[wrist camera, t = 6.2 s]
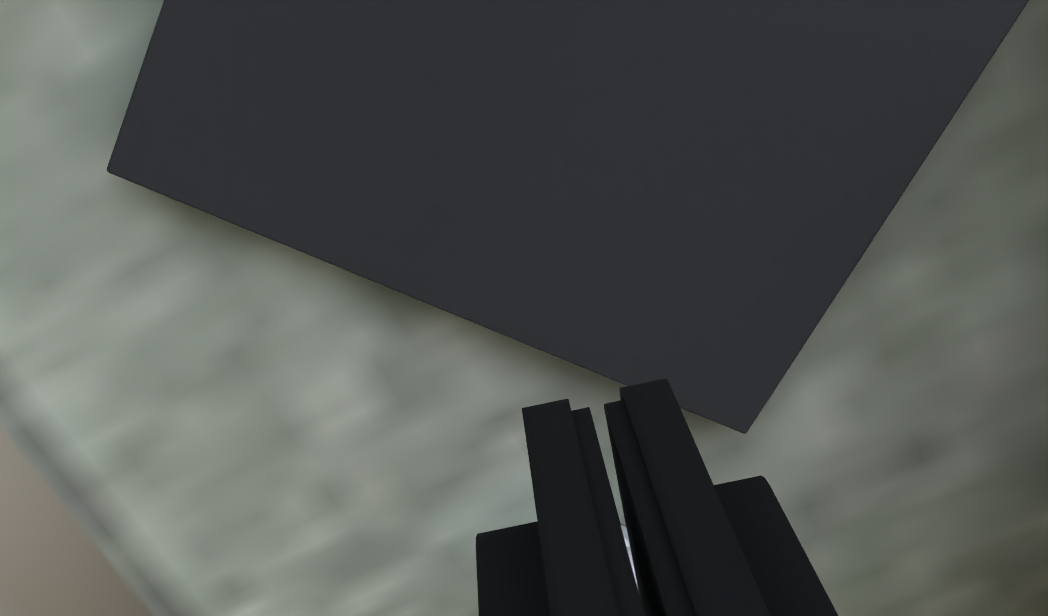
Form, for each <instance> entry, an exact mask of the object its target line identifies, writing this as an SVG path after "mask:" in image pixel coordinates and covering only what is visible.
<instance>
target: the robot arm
mask: <svg viewBox="0 0 1048 616" xmlns="http://www.w3.org/2000/svg"><path fill="white" fill-rule="evenodd" d="M620 398H621V401H616V402H612V403H607V404H604V409H605V415H606V420H607V426H608V431H609V436H610V442H611V447H612V453H613V458H614V463H615V469H616V474H617V479H618V485H619V490H620V495H621V501H622V506H623V512H624V517H625V522H626V528H627V533H628V538H629V544H630V549H631V554H632V560H633V565H634V570H635V576H636V581H637V585H636V581H635V577H634V573H633V570H632V566H631V562H630V558H629V555H628V551H627V547H626V543H625V539H624V536H623V532H622V528H621V524H620V521H619V517H618V513H617V509H616V506H615V502H614V498H613V494H612V491H611V487H610V483H609V479H608V476H607V472H606V468H605V464H604V460H603V457H602V453H601V449H600V445H599V442H598V438H597V434H596V430H595V427H594V423H593V419H592V415H591V412H590V408H589V407H587V408H583V409H578V410H573V411H571V408H570V404H569V400H568V399H564V400H559V401H554V402H550V403H545V404H540V405H535V406H530V407H525V408H522V412H523V420H524V427H525V434H526V441H527V448H528V455H529V463H530V470H531V477H532V484H533V491H534V498H535V506H536V513H537V520H538V522H533V523H528V524H523V525H518V526H513V527H508V528H503V529H499V530H494V531H489V532H484V533H479V534H477V536H476V560H477V583H478V607H479V616H838V614H837V612H836V610H835V608H834V607H833V605H832V603H831V601H830V599H829V597H828V595H827V593H826V591H825V589H824V588H823V586H822V584H821V582H820V580H819V578H818V576H817V574H816V572H815V570H814V569H813V567H812V565H811V563H810V561H809V559H808V557H807V555H806V553H805V551H804V550H803V548H802V546H801V544H800V542H799V540H798V538H797V536H796V534H795V532H794V530H793V529H792V527H791V525H790V523H789V521H788V519H787V517H786V515H785V513H784V511H783V510H782V508H781V506H780V504H779V502H778V500H777V498H776V496H775V494H774V492H773V491H772V489H771V487H770V485H769V484H768V482H767V480H766V479H765V478H764V477H762V476H757V477H752V478H747V479H742V480H737V481H732V482H727V483H723V484H718V485H713V483H712V481H711V478H710V476H709V474H708V471H707V469H706V467H705V465H704V462H703V460H702V458H701V455H700V453H699V451H698V448H697V446H696V444H695V441H694V439H693V437H692V435H691V432H690V430H689V428H688V425H687V423H686V421H685V418H684V416H683V414H682V412H681V409H680V407H679V405H678V402H677V400H676V398H675V395H674V393H673V391H672V389H671V386H670V384H669V382H668V380H667V379H661V380H656V381H651V382H646V383H641V384H637V385H632V386H627V387H622V388H620ZM637 587H638V588H637Z"/></svg>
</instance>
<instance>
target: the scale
mask: <svg viewBox="0 0 1048 616" xmlns="http://www.w3.org/2000/svg"><path fill="white" fill-rule="evenodd" d="M1028 1H1029V0H164V2H163V5H162V8H161V11H160V14H159V17H158V20H157V23H156V26H155V28H154V31H153V34H152V37H151V40H150V43H149V46H148V49H147V52H146V55H145V58H144V61H143V64H142V67H141V70H140V73H139V75H138V78H137V81H136V84H135V87H134V90H133V93H132V96H131V99H130V102H129V105H128V108H127V111H126V114H125V117H124V120H123V123H122V125H121V128H120V131H119V134H118V137H117V140H116V143H115V146H114V149H113V152H112V155H111V158H110V161H109V164H108V167H107V171H108V172H109V173H111V174H114V175H116V176H118V177H121V178H123V179H126V180H128V181H131V182H133V183H135V184H138V185H140V186H143V187H145V188H148V189H150V190H153V191H155V192H157V193H160V194H162V195H165V196H167V197H170V198H172V199H174V200H177V201H179V202H182V203H184V204H187V205H189V206H191V207H194V208H196V209H199V210H201V211H204V212H206V213H208V214H211V215H213V216H216V217H218V218H221V219H223V220H225V221H228V222H230V223H233V224H235V225H238V226H240V227H243V228H245V229H247V230H250V231H252V232H255V233H257V234H260V235H262V236H264V237H267V238H269V239H272V240H274V241H277V242H279V243H281V244H284V245H286V246H289V247H291V248H294V249H296V250H298V251H301V252H303V253H306V254H308V255H311V256H313V257H316V258H318V259H320V260H323V261H325V262H328V263H330V264H333V265H335V266H337V267H340V268H342V269H345V270H347V271H350V272H352V273H354V274H357V275H359V276H362V277H364V278H367V279H369V280H371V281H374V282H376V283H379V284H381V285H384V286H386V287H388V288H391V289H393V290H396V291H398V292H401V293H403V294H406V295H408V296H410V297H413V298H415V299H418V300H420V301H423V302H425V303H427V304H430V305H432V306H435V307H437V308H440V309H442V310H444V311H447V312H449V313H452V314H454V315H457V316H459V317H461V318H464V319H466V320H469V321H471V322H474V323H476V324H479V325H481V326H483V327H486V328H488V329H491V330H493V331H496V332H498V333H500V334H503V335H505V336H508V337H510V338H513V339H515V340H517V341H520V342H522V343H525V344H527V345H530V346H532V347H534V348H537V349H539V350H542V351H544V352H547V353H549V354H551V355H554V356H556V357H559V358H561V359H564V360H566V361H569V362H571V363H573V364H576V365H578V366H581V367H583V368H586V369H588V370H590V371H593V372H595V373H598V374H600V375H603V376H605V377H607V378H610V379H612V380H615V381H617V382H620V383H622V384H624V385H627V386H632V385H637V384H641V383H646V382H651V381H656V380H661V379H667V380H668V382H669V384H670V386H671V389H672V391H673V393H674V395H675V398H676V400H677V402H678V405H679V407H680V408H683V409H685V410H688V411H690V412H693V413H695V414H697V415H700V416H702V417H705V418H707V419H710V420H712V421H714V422H717V423H719V424H722V425H724V426H727V427H729V428H732V429H734V430H736V431H739V432H741V433H744V434H746V433H747V431H748V430H749V428H750V427H751V425H752V424H753V422H754V421H755V419H756V418H757V416H758V415H759V413H760V411H761V410H762V408H763V407H764V405H765V404H766V402H767V401H768V399H769V398H770V396H771V395H772V393H773V392H774V390H775V389H776V387H777V385H778V384H779V382H780V381H781V379H782V378H783V376H784V375H785V373H786V372H787V370H788V369H789V367H790V366H791V364H792V362H793V361H794V359H795V358H796V356H797V355H798V353H799V352H800V350H801V349H802V347H803V346H804V344H805V343H806V341H807V339H808V338H809V336H810V335H811V333H812V332H813V330H814V329H815V327H816V326H817V324H818V323H819V321H820V320H821V318H822V317H823V315H824V313H825V312H826V310H827V309H828V307H829V306H830V304H831V303H832V301H833V300H834V298H835V297H836V295H837V294H838V292H839V290H840V289H841V287H842V286H843V284H844V283H845V281H846V280H847V278H848V277H849V275H850V274H851V272H852V271H853V269H854V267H855V266H856V264H857V263H858V261H859V260H860V258H861V257H862V255H863V254H864V252H865V251H866V249H867V248H868V246H869V245H870V243H871V241H872V240H873V238H874V237H875V235H876V234H877V232H878V231H879V229H880V228H881V226H882V225H883V223H884V222H885V220H886V218H887V217H888V215H889V214H890V212H891V211H892V209H893V208H894V206H895V205H896V203H897V202H898V200H899V199H900V197H901V196H902V194H903V192H904V191H905V189H906V188H907V186H908V185H909V183H910V182H911V180H912V179H913V177H914V176H915V174H916V173H917V171H918V169H919V168H920V166H921V165H922V163H923V162H924V160H925V159H926V157H927V156H928V154H929V153H930V151H931V150H932V148H933V146H934V145H935V143H936V142H937V140H938V139H939V137H940V136H941V134H942V133H943V131H944V130H945V128H946V127H947V125H948V124H949V122H950V120H951V119H952V117H953V116H954V114H955V113H956V111H957V110H958V108H959V107H960V105H961V104H962V102H963V101H964V99H965V97H966V96H967V94H968V93H969V91H970V90H971V88H972V87H973V85H974V84H975V82H976V81H977V79H978V78H979V76H980V74H981V73H982V71H983V70H984V68H985V67H986V65H987V64H988V62H989V61H990V59H991V58H992V56H993V55H994V53H995V52H996V50H997V48H998V47H999V45H1000V44H1001V42H1002V41H1003V39H1004V38H1005V36H1006V35H1007V33H1008V32H1009V30H1010V29H1011V27H1012V25H1013V24H1014V22H1015V21H1016V19H1017V18H1018V16H1019V15H1020V13H1021V12H1022V10H1023V9H1024V7H1025V6H1026V4H1027V2H1028Z"/></svg>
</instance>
